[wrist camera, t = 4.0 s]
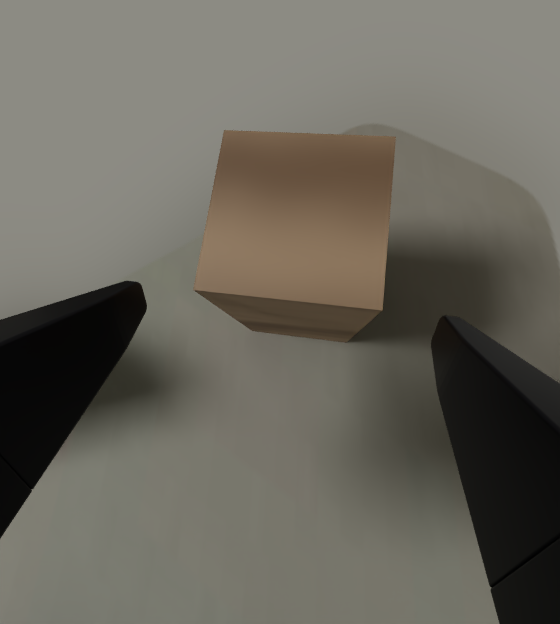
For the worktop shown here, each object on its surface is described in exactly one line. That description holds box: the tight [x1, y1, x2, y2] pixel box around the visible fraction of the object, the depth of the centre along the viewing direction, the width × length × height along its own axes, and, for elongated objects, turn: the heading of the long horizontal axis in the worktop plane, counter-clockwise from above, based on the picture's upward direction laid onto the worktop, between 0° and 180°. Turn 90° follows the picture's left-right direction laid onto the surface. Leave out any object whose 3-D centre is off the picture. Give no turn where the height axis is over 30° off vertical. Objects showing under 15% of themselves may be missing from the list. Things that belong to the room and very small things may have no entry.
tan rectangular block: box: [193, 130, 396, 342], centre depth 15 cm, size 6×6×10 cm
